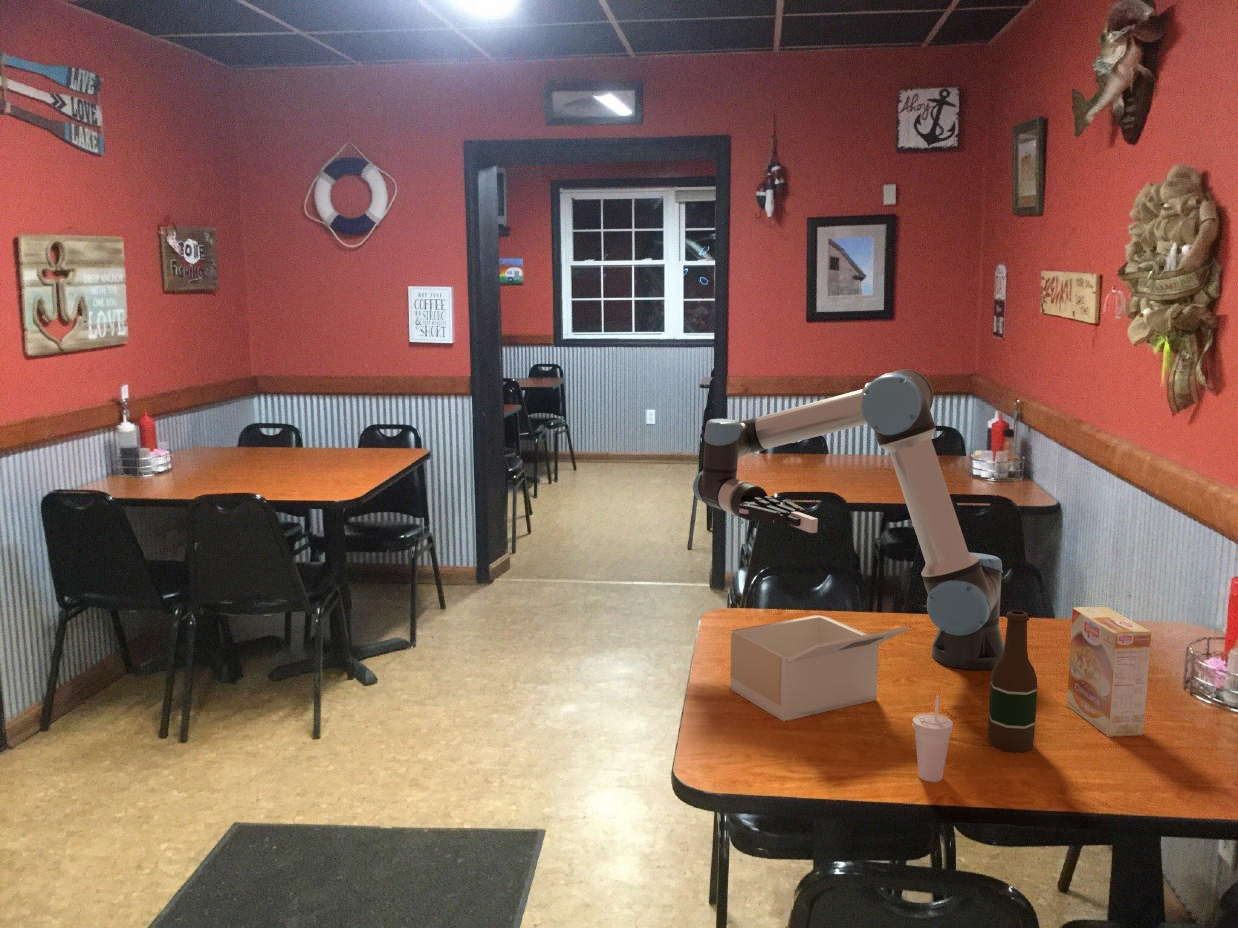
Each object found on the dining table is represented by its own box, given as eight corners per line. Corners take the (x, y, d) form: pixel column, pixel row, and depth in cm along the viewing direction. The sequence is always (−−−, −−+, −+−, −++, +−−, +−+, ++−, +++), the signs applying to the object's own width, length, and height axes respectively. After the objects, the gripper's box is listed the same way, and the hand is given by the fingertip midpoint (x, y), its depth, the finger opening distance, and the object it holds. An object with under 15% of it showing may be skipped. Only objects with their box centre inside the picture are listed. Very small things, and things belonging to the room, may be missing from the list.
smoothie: (955, 785, 172) (959, 703, 170) (915, 785, 172) (919, 703, 170) (944, 767, 178) (948, 688, 176) (905, 767, 178) (909, 688, 176)
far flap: (816, 644, 188) (817, 648, 187) (908, 626, 197) (909, 630, 197) (786, 658, 196) (788, 662, 196) (876, 640, 205) (877, 644, 205)
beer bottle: (1028, 757, 182) (1037, 621, 178) (982, 747, 186) (989, 614, 182) (1038, 740, 189) (1046, 609, 185) (992, 731, 193) (999, 603, 189)
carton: (726, 688, 214) (726, 631, 212) (819, 669, 224) (821, 614, 222) (780, 721, 197) (782, 659, 195) (878, 699, 208) (881, 640, 206)
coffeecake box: (1064, 704, 205) (1071, 606, 201) (1100, 703, 205) (1107, 605, 202) (1106, 737, 190) (1114, 632, 187) (1145, 735, 191) (1153, 630, 187)
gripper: (768, 513, 231) (839, 540, 211) (717, 520, 225) (786, 548, 205) (769, 480, 230) (841, 503, 210) (719, 485, 224) (788, 510, 203)
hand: (814, 525), depth 207 cm, fingers closed
